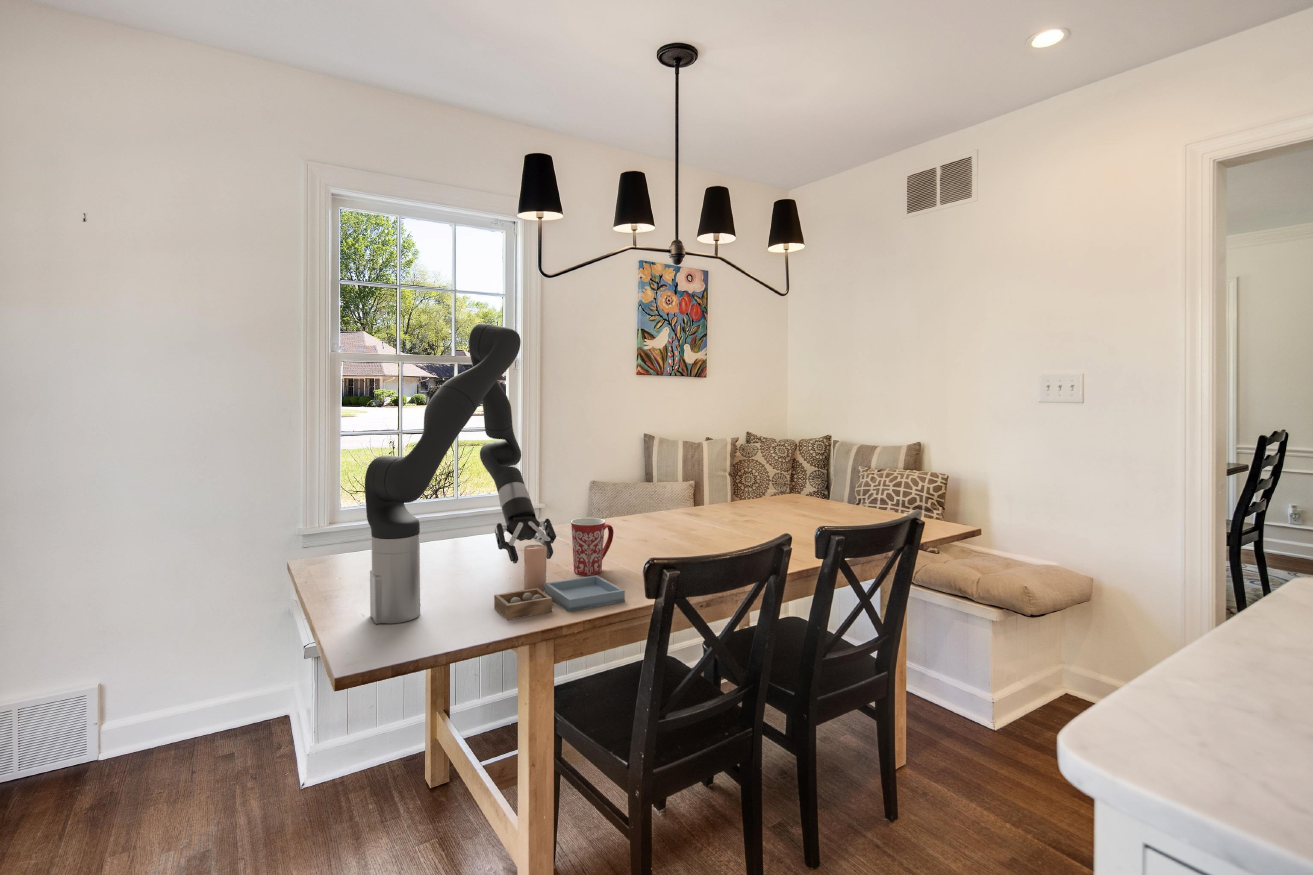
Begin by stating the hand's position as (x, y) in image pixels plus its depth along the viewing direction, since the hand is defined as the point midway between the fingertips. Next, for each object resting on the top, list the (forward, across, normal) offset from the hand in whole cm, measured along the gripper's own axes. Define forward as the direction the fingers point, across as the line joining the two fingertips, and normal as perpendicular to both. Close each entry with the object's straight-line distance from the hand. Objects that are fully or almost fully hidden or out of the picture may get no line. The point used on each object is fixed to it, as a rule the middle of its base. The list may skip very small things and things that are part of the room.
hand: (533, 559), depth 156 cm
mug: (+1, +19, +9) cm, 21 cm away
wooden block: (+6, 0, +4) cm, 7 cm away
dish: (+14, +7, -5) cm, 16 cm away
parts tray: (+15, -8, -5) cm, 18 cm away
